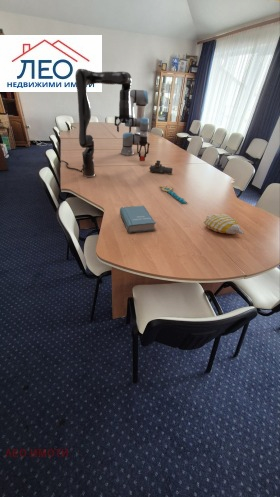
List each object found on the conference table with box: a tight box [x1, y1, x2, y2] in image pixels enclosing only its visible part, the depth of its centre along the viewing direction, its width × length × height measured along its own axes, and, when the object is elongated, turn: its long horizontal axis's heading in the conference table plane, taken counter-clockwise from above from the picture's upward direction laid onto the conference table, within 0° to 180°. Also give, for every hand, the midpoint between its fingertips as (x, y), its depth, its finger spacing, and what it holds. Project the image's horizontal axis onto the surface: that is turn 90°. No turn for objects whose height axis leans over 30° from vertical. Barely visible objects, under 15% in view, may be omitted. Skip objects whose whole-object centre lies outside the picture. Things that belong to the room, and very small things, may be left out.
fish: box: [203, 213, 245, 235], centre depth 133 cm, size 25×8×20 cm
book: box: [119, 205, 156, 233], centre depth 136 cm, size 23×16×5 cm
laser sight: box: [148, 160, 173, 175], centre depth 216 cm, size 10×22×10 cm, turn 78°
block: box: [139, 154, 145, 162], centre depth 231 cm, size 4×4×5 cm
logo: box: [159, 185, 188, 204], centre depth 175 cm, size 34×10×1 cm, turn 16°
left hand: (124, 132), depth 168 cm, fingers open, 8 cm apart
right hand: (142, 160), depth 232 cm, fingers closed on block, 4 cm apart
